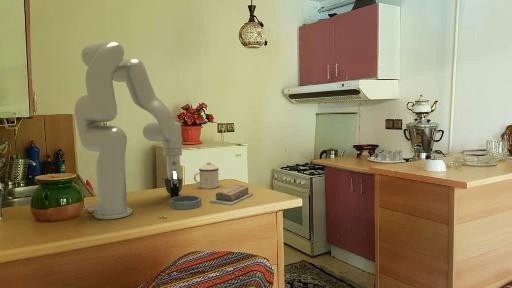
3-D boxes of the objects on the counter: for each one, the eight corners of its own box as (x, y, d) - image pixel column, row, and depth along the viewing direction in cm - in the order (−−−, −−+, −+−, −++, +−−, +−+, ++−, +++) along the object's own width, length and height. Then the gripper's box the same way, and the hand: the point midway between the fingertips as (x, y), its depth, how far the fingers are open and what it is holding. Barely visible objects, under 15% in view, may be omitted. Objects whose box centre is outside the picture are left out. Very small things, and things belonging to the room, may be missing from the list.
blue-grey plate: (171, 210, 144) (171, 204, 144) (168, 203, 156) (168, 196, 155) (204, 207, 148) (203, 201, 147) (199, 200, 159) (198, 194, 159)
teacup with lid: (214, 184, 190) (213, 160, 189) (222, 187, 182) (221, 162, 181) (190, 187, 184) (189, 162, 183) (197, 190, 176) (197, 165, 175)
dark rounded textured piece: (185, 195, 168) (184, 176, 167) (180, 199, 161) (179, 180, 160) (168, 195, 169) (167, 176, 168) (162, 199, 162) (161, 180, 161)
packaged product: (232, 183, 171) (253, 185, 166) (232, 194, 171) (253, 196, 167) (209, 191, 155) (231, 194, 150) (209, 204, 155) (231, 206, 151)
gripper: (184, 154, 156) (185, 198, 158) (179, 149, 172) (180, 189, 174) (164, 155, 154) (166, 200, 156) (161, 150, 170) (163, 190, 172)
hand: (174, 194), depth 165 cm, fingers closed on dark rounded textured piece, 6 cm apart
